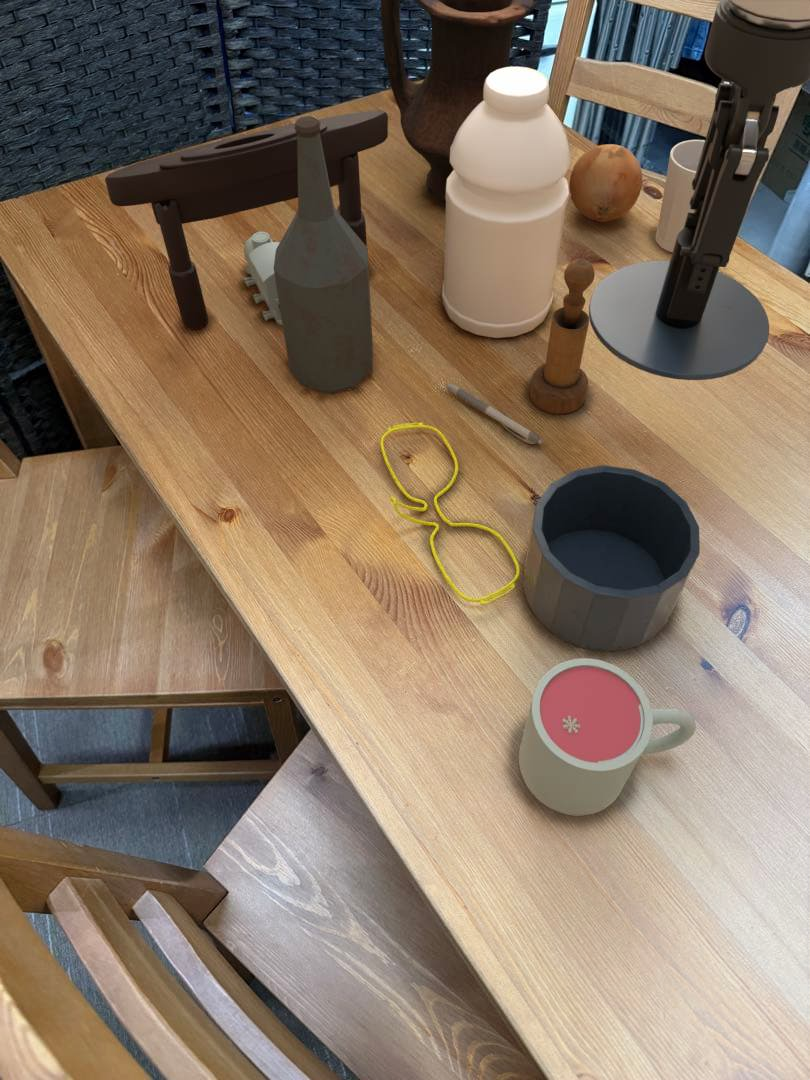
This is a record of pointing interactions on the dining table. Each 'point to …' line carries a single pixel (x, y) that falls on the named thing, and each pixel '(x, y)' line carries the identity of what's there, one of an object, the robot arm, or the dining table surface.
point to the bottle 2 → (505, 207)
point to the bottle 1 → (323, 281)
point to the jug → (448, 72)
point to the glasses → (395, 503)
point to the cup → (678, 191)
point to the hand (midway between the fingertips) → (684, 299)
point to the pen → (496, 415)
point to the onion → (605, 182)
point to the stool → (243, 194)
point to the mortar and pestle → (565, 348)
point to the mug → (590, 735)
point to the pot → (608, 557)
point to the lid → (677, 321)
